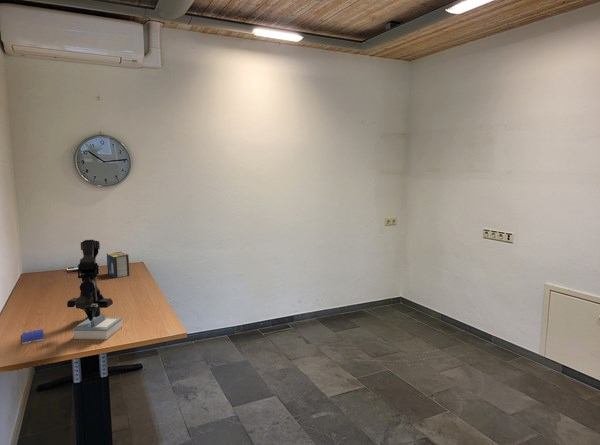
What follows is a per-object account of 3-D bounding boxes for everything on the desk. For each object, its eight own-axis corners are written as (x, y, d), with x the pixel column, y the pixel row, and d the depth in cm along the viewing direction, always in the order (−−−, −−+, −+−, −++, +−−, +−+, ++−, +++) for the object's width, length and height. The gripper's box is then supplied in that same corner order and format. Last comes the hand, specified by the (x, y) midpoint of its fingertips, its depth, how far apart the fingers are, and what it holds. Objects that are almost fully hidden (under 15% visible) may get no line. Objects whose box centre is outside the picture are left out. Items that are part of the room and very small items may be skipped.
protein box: (122, 271, 304) (121, 251, 302) (129, 275, 292) (128, 254, 290) (107, 274, 297) (106, 253, 295) (114, 278, 285) (113, 256, 283)
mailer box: (91, 327, 196) (90, 319, 196) (121, 327, 196) (121, 319, 195) (74, 339, 182) (73, 330, 182) (106, 339, 182) (106, 331, 181)
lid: (90, 318, 196) (90, 312, 195) (121, 319, 195) (121, 312, 195) (72, 330, 181) (72, 323, 181) (106, 330, 181) (106, 323, 181)
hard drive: (22, 332, 187) (21, 342, 176) (43, 328, 191) (43, 338, 181) (22, 335, 187) (22, 345, 177) (43, 332, 191) (44, 341, 181)
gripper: (58, 292, 179) (60, 326, 181) (99, 293, 178) (101, 327, 180) (73, 285, 190) (75, 317, 192) (112, 286, 189) (114, 318, 191)
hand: (91, 320), depth 188 cm, fingers closed
